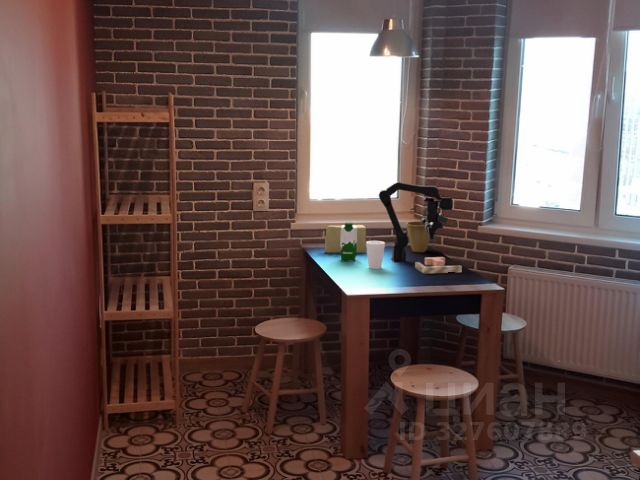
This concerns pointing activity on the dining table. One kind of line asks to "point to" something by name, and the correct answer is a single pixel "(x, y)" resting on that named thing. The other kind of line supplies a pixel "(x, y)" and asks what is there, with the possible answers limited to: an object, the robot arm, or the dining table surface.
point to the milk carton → (348, 242)
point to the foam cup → (375, 253)
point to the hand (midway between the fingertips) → (431, 239)
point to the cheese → (334, 239)
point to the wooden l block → (437, 268)
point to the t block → (435, 261)
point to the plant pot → (417, 236)
